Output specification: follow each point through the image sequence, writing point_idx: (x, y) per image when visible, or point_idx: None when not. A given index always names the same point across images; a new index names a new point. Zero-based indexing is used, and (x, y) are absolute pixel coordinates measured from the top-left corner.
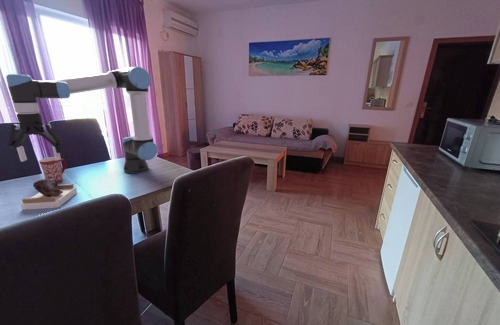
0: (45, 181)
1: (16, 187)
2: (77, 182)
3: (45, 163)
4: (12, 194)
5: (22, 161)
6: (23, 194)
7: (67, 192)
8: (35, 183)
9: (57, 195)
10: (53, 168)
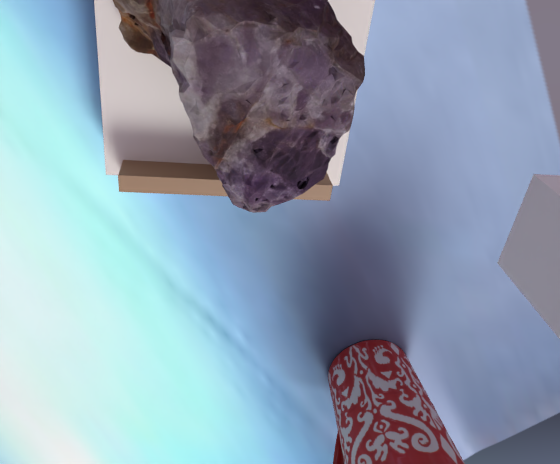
0: (215, 7)
1: None
2: (214, 332)
3: (425, 462)
4: None
5: (536, 174)
6: (472, 193)
7: (115, 71)
8: (331, 34)
9: None
10: (371, 429)
